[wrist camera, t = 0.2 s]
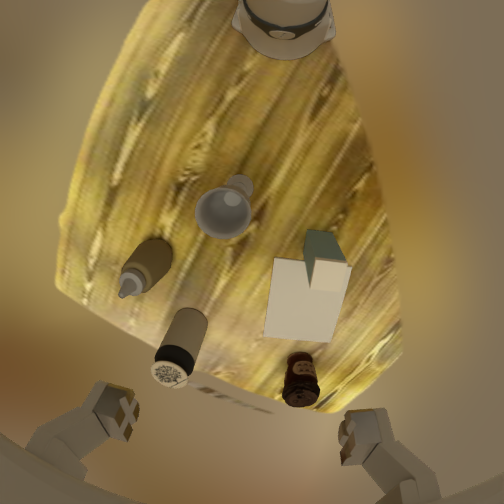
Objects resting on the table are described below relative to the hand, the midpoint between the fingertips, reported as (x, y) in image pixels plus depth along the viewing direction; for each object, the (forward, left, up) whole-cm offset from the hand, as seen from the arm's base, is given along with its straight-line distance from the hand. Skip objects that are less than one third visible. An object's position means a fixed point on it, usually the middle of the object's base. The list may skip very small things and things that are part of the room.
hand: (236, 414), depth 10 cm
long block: (+10, +11, -47) cm, 49 cm away
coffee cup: (+41, +13, -47) cm, 64 cm away
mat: (+24, +11, -47) cm, 54 cm away
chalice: (+1, -5, -47) cm, 47 cm away
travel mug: (+33, -14, -47) cm, 60 cm away
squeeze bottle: (+16, -21, -47) cm, 54 cm away
